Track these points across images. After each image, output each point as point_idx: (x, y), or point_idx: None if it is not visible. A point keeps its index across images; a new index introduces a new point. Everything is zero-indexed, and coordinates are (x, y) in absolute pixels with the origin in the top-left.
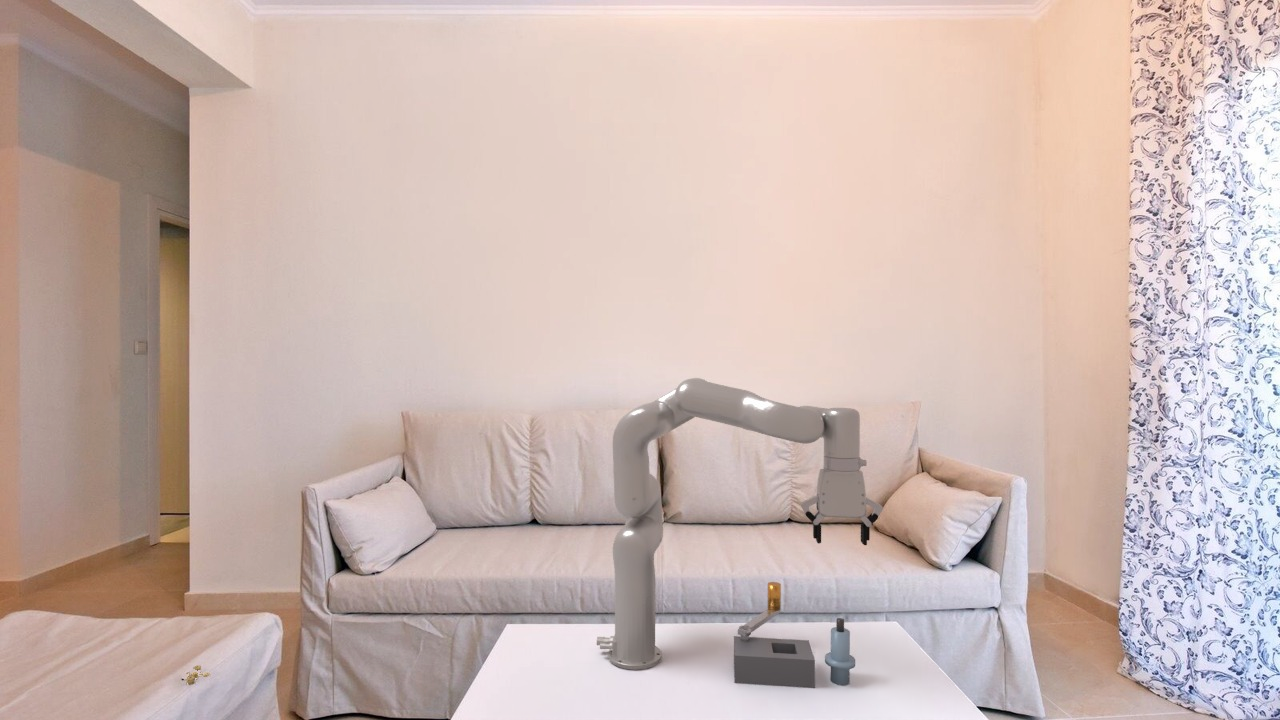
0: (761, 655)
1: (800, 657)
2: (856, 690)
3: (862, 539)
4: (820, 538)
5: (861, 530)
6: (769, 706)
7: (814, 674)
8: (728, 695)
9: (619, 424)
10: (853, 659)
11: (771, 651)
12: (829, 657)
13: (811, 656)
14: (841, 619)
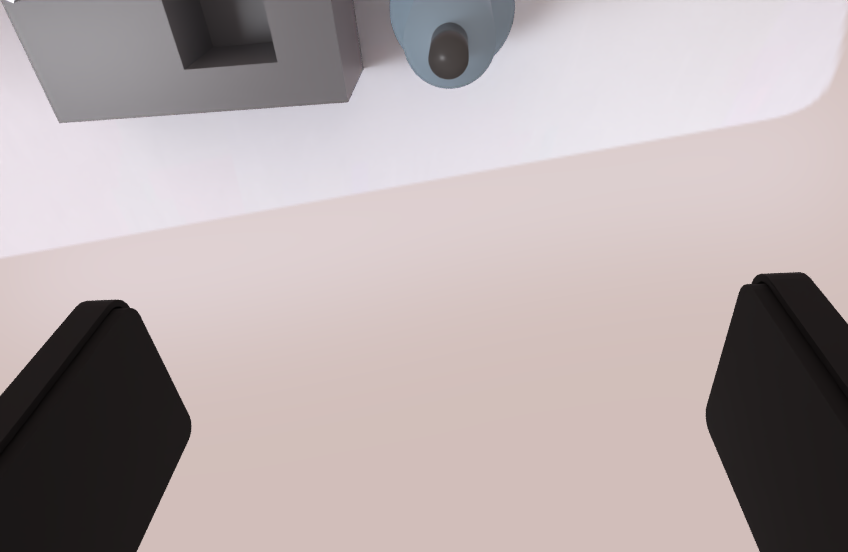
0: (149, 103)
1: (293, 88)
2: (501, 53)
3: (736, 420)
4: (163, 477)
5: (816, 473)
6: (246, 199)
7: (355, 84)
8: (123, 165)
9: None
10: (506, 12)
11: (174, 58)
12: (408, 14)
13: (333, 70)
14: (454, 56)
